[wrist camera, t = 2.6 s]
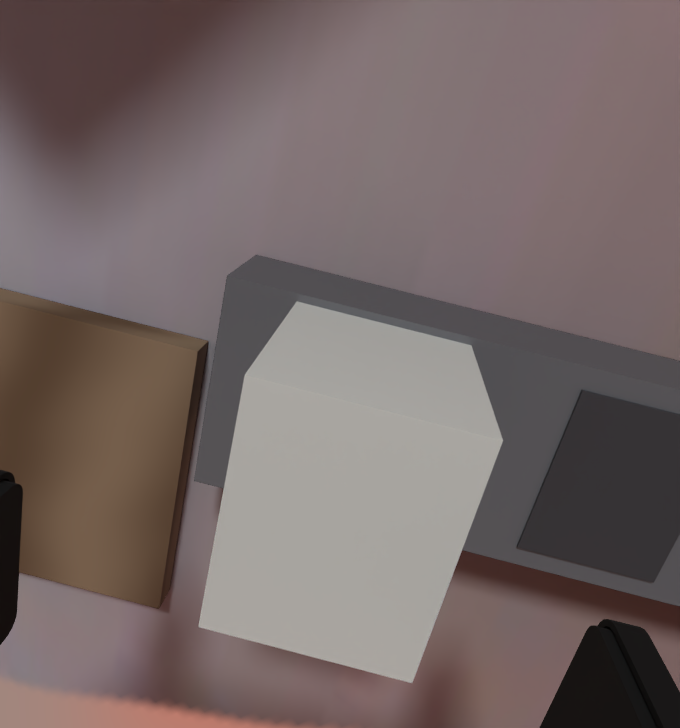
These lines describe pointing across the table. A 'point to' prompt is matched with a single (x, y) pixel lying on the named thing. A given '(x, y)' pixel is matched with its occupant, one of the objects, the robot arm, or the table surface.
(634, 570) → the power strip
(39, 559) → the pad
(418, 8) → the table surface
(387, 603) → the block
